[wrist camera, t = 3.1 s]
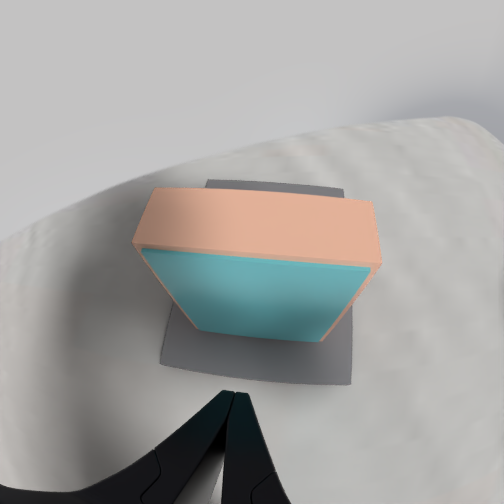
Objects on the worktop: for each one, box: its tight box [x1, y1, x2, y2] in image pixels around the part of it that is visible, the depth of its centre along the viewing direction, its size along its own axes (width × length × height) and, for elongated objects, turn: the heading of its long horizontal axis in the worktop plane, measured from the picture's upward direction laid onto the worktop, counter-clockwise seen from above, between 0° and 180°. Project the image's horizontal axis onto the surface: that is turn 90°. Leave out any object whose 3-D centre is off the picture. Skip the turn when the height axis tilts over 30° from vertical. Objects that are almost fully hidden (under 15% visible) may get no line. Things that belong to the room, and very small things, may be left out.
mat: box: [160, 180, 352, 385], centre depth 20 cm, size 16×12×1 cm
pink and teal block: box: [131, 188, 382, 342], centre depth 13 cm, size 3×8×10 cm, turn 83°
